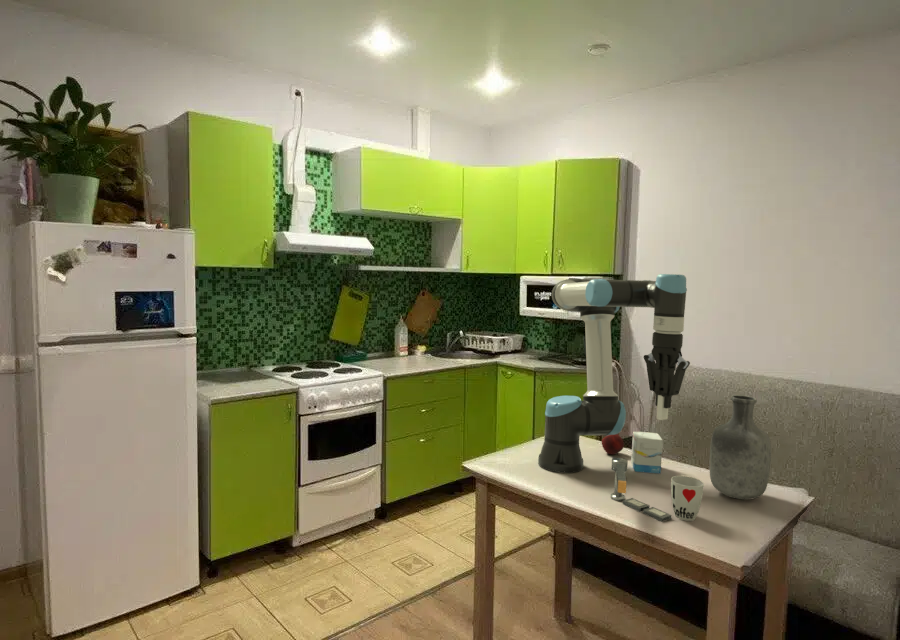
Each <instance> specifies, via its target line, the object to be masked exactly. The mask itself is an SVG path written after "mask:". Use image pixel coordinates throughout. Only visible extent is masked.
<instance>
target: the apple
mask: <svg viewBox="0 0 900 640" xmlns="http://www.w3.org/2000/svg"><path fill="white" fill-rule="evenodd" d="M601 446H602V449H603V450H604V451H605V452H606V453H607V454H608V455H611V456H612V455H616V454H617V455H619V453H620V452H622V450H623V449H624V447H625V443H624V440H623V438H622V437H621V436H620V435H619V433H618V434H615V435H607V436H604V437H603V438H602V439H601Z"/></svg>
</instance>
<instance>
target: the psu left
mask: <svg viewBox="0 0 900 640" xmlns="http://www.w3.org/2000/svg"><path fill="white" fill-rule="evenodd" d="M622 505H624V506H627V507H629V508H630V509H633V510H635V511H637V512H639V513H640V512H641V513H643V510H644V509H647V508H651V507H650V504H647V503H644V502H643V501H640V500H638V499H635V498H634V497H630V498H627V499H625V500H623V501H622Z"/></svg>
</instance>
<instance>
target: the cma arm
mask: <svg viewBox="0 0 900 640" xmlns="http://www.w3.org/2000/svg"><path fill="white" fill-rule="evenodd" d="M628 462H629V461H628V459H626V458H622V457H612V459H611V467H610V468H611V470H612V471H613V472H615V471H616V477H617V488H618V492H619V493H622V494H626V493H627V479H626V478H627V477H626V473H627V472H628V466H629V465H628Z"/></svg>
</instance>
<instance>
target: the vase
mask: <svg viewBox="0 0 900 640" xmlns="http://www.w3.org/2000/svg"><path fill="white" fill-rule="evenodd" d="M730 401H732V414H731V418H730V419H729V420H728V421H727V422H726V423H723V424H722V423H721V424H720V425H718V426H716V427H715V428H714V429H713V431H712V433H711V440H710V449H709V478H710V483H711V485H712V487H714V489H715V490H717V491H719V493H721V494H724V495H725V496H727V497H731V498H733V499H738V500H752V499H756V498H759V497H761V496H762V495H763V494H764V493H765V492H766V490H767V486H768V483H769V479H770V470H771V459H772V457H771V456H772V442H771V437H770V436H769V434H768V433H767V432H765V431H764V430H763V429H761V428H759V427H758V426H757V425H756V423H755V421H754V410H755V404H757V402H758V400H757V398H756V397H753V396H749V395H741V394H740V395H739V394H738V395H737V394H736V395H733V394H732V395H731V396H730Z"/></svg>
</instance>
